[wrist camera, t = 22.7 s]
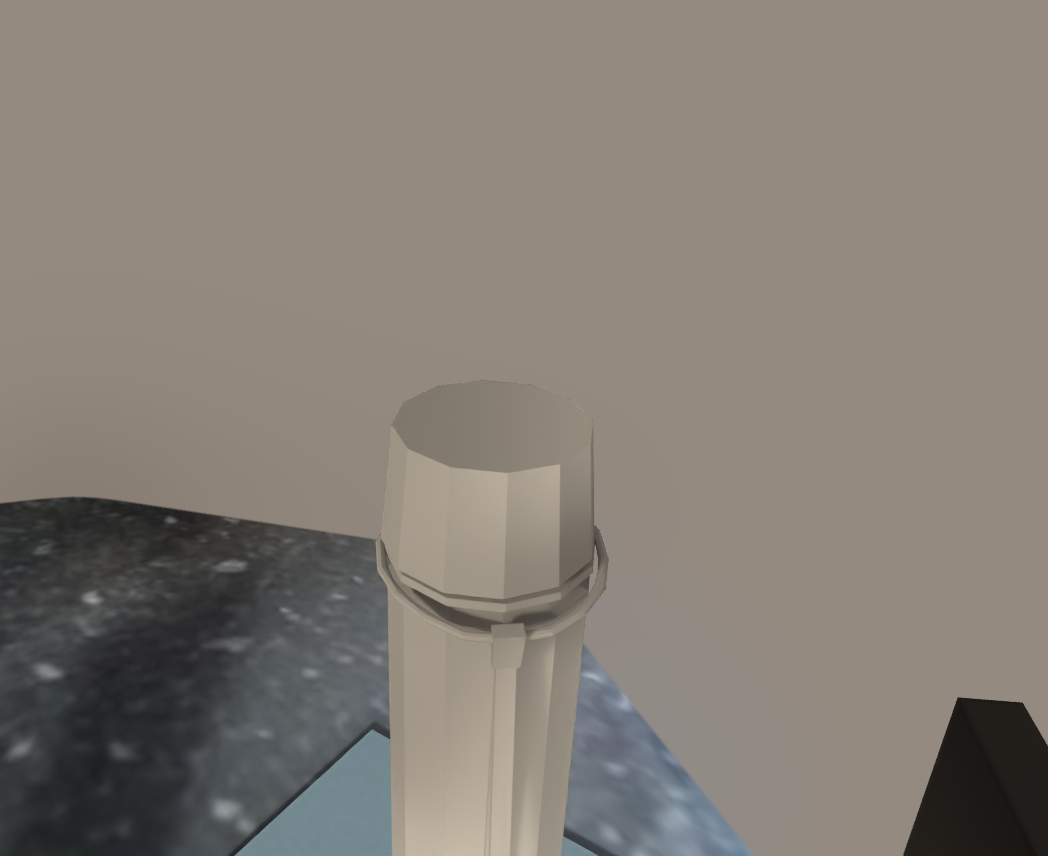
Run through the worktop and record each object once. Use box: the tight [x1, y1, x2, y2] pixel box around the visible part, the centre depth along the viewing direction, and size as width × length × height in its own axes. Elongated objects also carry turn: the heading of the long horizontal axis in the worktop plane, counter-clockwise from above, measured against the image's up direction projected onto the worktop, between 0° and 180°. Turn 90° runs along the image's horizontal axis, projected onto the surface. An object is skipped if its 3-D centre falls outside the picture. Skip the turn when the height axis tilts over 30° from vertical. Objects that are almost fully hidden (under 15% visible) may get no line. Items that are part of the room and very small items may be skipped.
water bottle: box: [376, 380, 608, 856], centre depth 35 cm, size 9×8×25 cm
